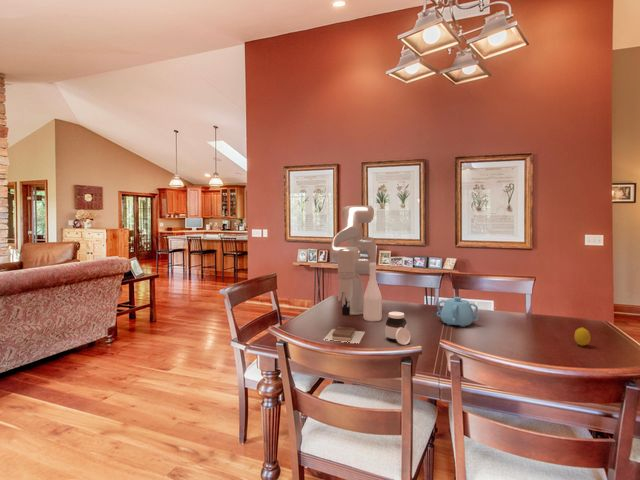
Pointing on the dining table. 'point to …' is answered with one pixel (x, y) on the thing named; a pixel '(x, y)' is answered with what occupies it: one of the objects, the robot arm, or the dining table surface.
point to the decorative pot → (457, 312)
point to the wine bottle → (372, 298)
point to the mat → (355, 339)
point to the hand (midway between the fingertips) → (346, 315)
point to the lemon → (582, 336)
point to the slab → (343, 334)
